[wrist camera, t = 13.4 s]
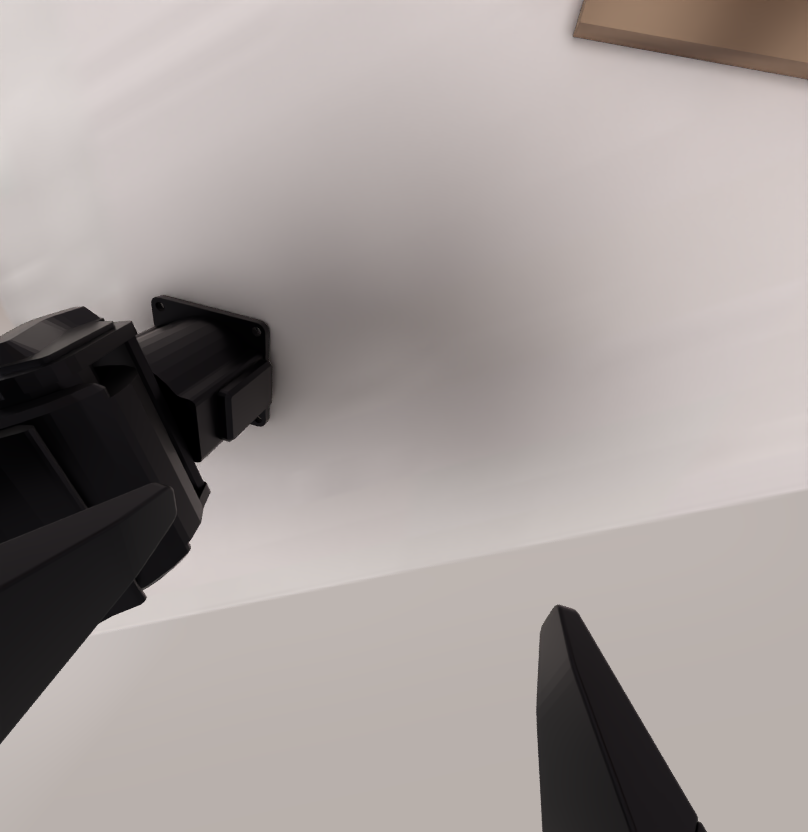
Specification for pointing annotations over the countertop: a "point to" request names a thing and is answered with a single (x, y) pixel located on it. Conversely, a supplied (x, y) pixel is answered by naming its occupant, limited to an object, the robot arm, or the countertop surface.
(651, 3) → the base board
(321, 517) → the countertop surface
